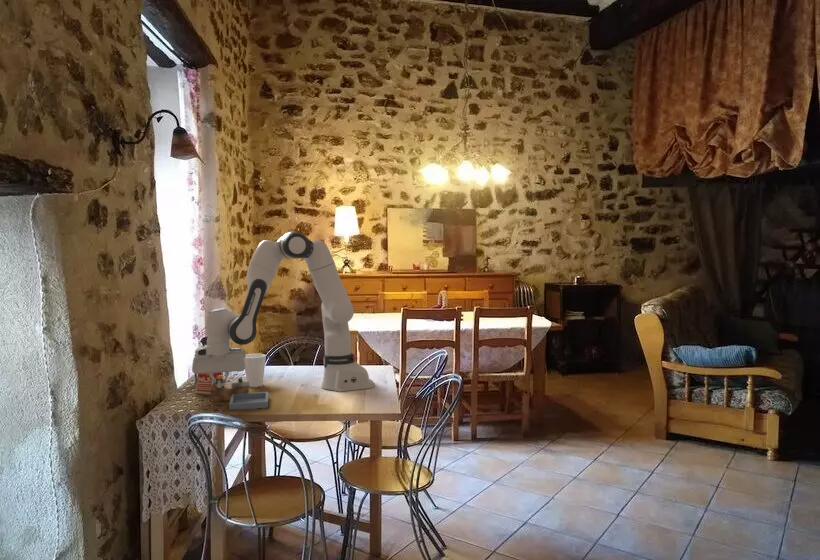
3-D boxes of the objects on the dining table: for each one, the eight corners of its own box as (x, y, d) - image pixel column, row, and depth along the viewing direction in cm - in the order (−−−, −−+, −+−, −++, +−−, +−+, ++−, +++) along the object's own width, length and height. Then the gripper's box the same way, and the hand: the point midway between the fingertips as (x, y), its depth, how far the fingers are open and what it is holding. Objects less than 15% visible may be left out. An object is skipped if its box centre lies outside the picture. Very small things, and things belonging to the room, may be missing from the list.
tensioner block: (250, 393, 246) (249, 375, 246) (249, 398, 239) (248, 380, 238) (213, 395, 243) (212, 377, 243) (211, 401, 236) (210, 382, 235)
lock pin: (223, 396, 242) (222, 375, 241) (223, 398, 239) (222, 376, 238) (217, 397, 241) (216, 375, 240) (216, 398, 239) (216, 376, 238)
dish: (268, 397, 240) (268, 391, 240) (267, 408, 226) (267, 401, 226) (232, 400, 237) (232, 394, 237) (229, 410, 223) (229, 404, 223)
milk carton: (214, 394, 245) (213, 346, 244) (194, 393, 247) (192, 345, 246) (226, 388, 254) (224, 342, 253) (206, 387, 256) (204, 341, 254)
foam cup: (265, 381, 265) (264, 352, 264) (267, 386, 257) (266, 357, 255) (243, 383, 262) (242, 354, 261) (244, 388, 254) (243, 358, 252)
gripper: (245, 346, 244) (246, 379, 245) (193, 348, 239) (194, 382, 241) (245, 349, 238) (246, 383, 239) (190, 351, 233) (192, 386, 234)
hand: (219, 383), depth 240 cm, fingers closed on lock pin, 2 cm apart
